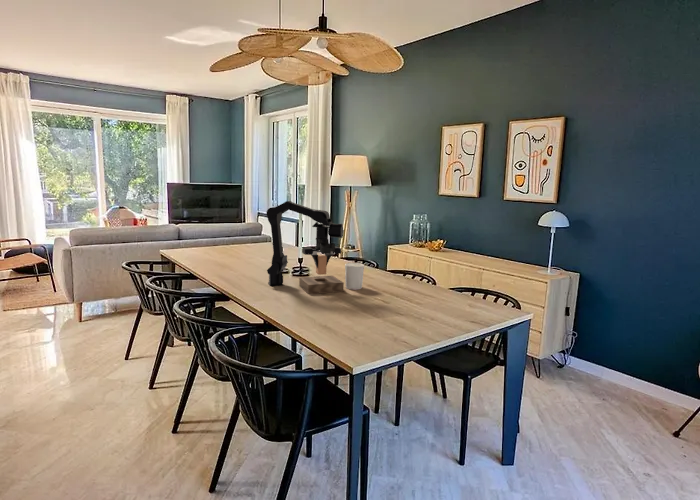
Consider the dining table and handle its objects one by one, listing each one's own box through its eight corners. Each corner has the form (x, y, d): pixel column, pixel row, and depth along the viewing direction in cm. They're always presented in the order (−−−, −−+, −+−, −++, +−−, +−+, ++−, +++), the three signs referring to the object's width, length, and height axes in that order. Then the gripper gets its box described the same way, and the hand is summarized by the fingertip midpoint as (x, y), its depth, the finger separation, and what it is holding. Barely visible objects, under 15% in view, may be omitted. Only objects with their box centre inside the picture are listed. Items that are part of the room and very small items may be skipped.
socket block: (308, 294, 208) (308, 284, 208) (299, 285, 223) (299, 277, 222) (343, 291, 215) (343, 282, 214) (332, 283, 230) (332, 275, 229)
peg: (318, 274, 215) (319, 256, 214) (316, 272, 219) (316, 255, 217) (326, 274, 217) (326, 256, 215) (323, 272, 220) (324, 254, 219)
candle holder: (340, 288, 222) (341, 265, 220) (349, 284, 230) (350, 262, 228) (357, 291, 217) (358, 267, 215) (366, 287, 226) (367, 264, 224)
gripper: (308, 239, 204) (307, 271, 206) (345, 238, 211) (344, 270, 213) (302, 236, 214) (301, 267, 217) (337, 235, 221) (336, 265, 224)
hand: (321, 267), depth 217 cm, fingers closed on peg, 4 cm apart
